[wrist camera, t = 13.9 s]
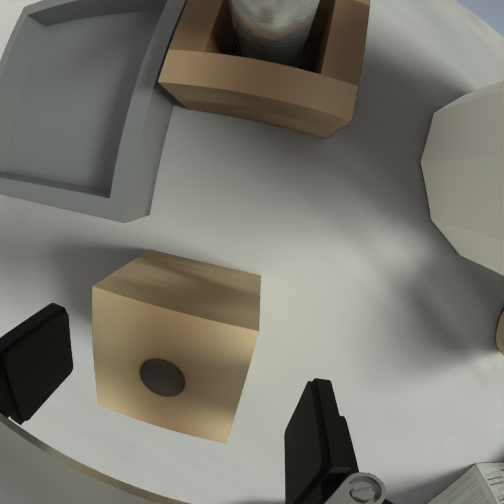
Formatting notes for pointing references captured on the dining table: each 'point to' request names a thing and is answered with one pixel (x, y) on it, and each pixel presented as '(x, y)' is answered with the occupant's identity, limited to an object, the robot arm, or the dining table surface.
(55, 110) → the tray
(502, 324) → the flower pot
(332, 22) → the square wooden socket
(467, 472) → the supplement box
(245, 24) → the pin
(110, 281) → the oak block
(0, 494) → the robot arm
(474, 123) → the toilet paper
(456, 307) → the dining table surface
